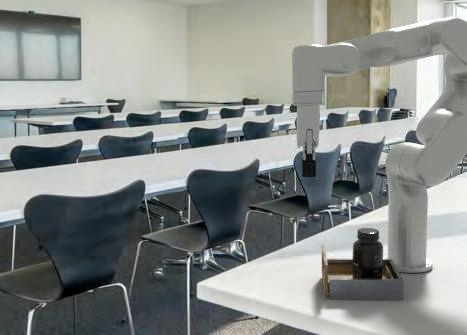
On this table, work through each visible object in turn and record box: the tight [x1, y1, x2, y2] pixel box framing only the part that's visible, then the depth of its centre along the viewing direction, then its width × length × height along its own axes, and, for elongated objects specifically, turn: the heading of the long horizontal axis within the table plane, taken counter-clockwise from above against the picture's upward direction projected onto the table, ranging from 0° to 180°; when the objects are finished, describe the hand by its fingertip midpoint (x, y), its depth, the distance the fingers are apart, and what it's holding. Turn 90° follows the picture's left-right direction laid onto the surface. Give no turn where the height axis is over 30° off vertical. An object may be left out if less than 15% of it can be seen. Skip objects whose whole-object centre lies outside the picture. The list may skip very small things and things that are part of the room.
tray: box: [321, 245, 394, 297], centre depth 134 cm, size 15×16×7 cm
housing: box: [327, 258, 405, 302], centre depth 134 cm, size 15×16×5 cm
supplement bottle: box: [352, 227, 384, 279], centre depth 133 cm, size 7×7×12 cm
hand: (309, 176), depth 139 cm, fingers closed
